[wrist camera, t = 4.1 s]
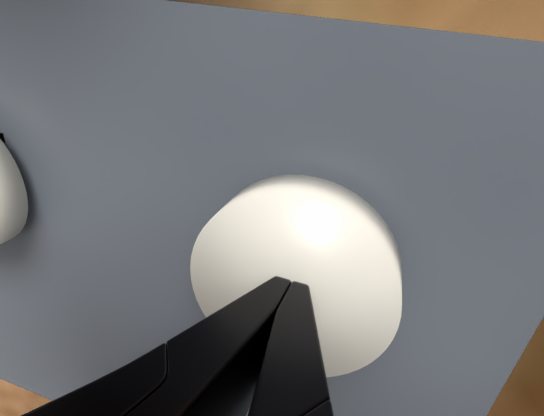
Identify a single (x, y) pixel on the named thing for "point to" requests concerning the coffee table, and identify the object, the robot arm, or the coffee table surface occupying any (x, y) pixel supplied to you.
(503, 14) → the coffee table surface
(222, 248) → the knob
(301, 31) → the console block
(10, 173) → the knob
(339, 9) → the coffee table surface
